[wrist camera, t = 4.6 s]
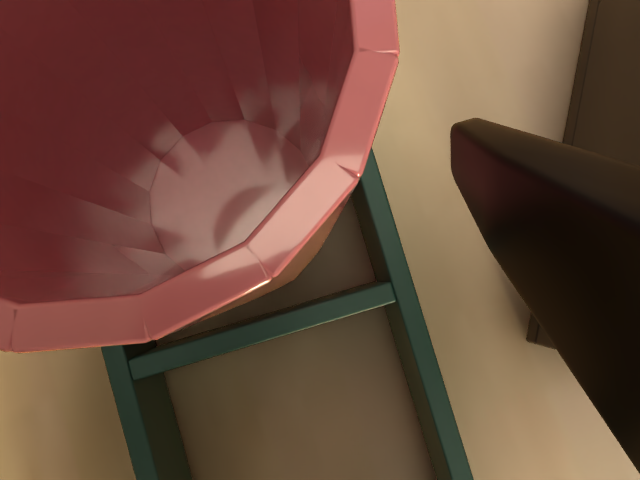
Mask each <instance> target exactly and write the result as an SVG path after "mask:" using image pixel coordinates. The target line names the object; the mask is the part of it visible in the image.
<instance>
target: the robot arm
mask: <svg viewBox="0 0 640 480" xmlns="http://www.w3.org/2000/svg"><path fill="white" fill-rule="evenodd" d="M450 139H451V170H452V174H453V177H454V180H455V182H456V184H457V186H458V188H459V190H460V192H461V194H462V196H463V198H464V200H465V202H466V204H467V206H468V208H469V210H470V212H471V214H472V216H473V218H474V220H475V222H476V224H477V226H478V228H479V230H480V232H481V234H482V236H483V238H484V240H485V242H486V244H487V245H488V247H489V249H490V251H491V252H492V254H493V255H494V257H495V259H496V260H497V262H498V263H499V265H500V266H501V267H502V269H503V270H504V272H505V273H506V275H507V276H508V278H509V279H510V281H511V282H512V284H513V285H514V287H515V288H516V290H517V291H518V293H519V294H520V296H521V297H522V299H523V300H524V302H525V303H526V305H527V306H528V308H529V309H530V311H531V312H532V314H533V315H534V317H535V318H536V320H537V321H538V323H539V324H540V326H541V327H542V329H543V330H544V332H545V333H546V335H547V336H548V338H549V339H550V341H551V342H552V344H553V345H554V347H555V348H556V350H557V351H558V353H559V354H560V356H561V357H562V359H563V360H564V361H565V363H566V364H567V366H568V367H569V369H570V370H571V372H572V373H573V375H574V376H575V378H576V379H577V381H578V382H579V384H580V385H581V387H582V388H583V390H584V391H585V393H586V394H587V396H588V397H589V399H590V400H591V402H592V403H593V405H594V406H595V408H596V409H597V411H598V412H599V414H600V415H601V417H602V418H603V420H604V421H605V423H606V424H607V426H608V427H609V429H610V430H611V432H612V433H613V435H614V436H615V438H616V439H617V441H618V442H619V444H620V445H621V447H622V448H623V450H624V451H625V453H626V454H627V455H628V457H629V458H630V460H631V461H632V463H633V464H634V466H635V467H636V469H637V470H638V472H639V473H640V166H639V165H635V164H632V163H629V162H625V161H622V160H618V159H615V158H612V157H608V156H605V155H601V154H598V153H595V152H591V151H588V150H585V149H581V148H578V147H574V146H571V145H568V144H564V143H561V142H557V141H554V140H551V139H547V138H544V137H540V136H537V135H534V134H530V133H527V132H523V131H520V130H517V129H513V128H510V127H507V126H503V125H500V124H496V123H493V122H490V121H486V120H483V119H479V118H472V119H469V120H465V121H462V122H458V123H455V124H454V125H453V126H452V128H451V133H450Z"/></svg>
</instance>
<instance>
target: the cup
mask: <svg viewBox="0 0 640 480" xmlns="http://www.w3.org/2000/svg"><path fill="white" fill-rule="evenodd" d="M399 53H400V47H399V36H398V25H397V14H396V4H395V0H0V350H1V351H4V352H12V351H13V352H15V353H31V352H43V351H55V350H67V349H79V348H91V347H103V346H115V345H127V344H140V343H147V342H149V341H152V340H158V339H160V338H162V337H165V336H167V335H170V334H172V333H175V332H177V331H179V330H182V329H184V328H187V327H189V326H191V325H194V324H196V323H199V322H201V321H204V320H206V319H208V318H211V317H213V316H216V315H218V314H220V313H223V312H225V311H228V310H230V309H233V308H235V307H237V306H240V305H242V304H245V303H247V302H250V301H252V300H254V299H257V298H259V297H262V296H264V295H266V294H268V293H269V292H271V291H273V290H275V289H277V288H279V287H281V286H283V285H285V284H287V283H289V282H291V281H293V280H294V279H296V278H297V276H298V275H299V274H300V273H301V272H302V271H303V269H304V268H305V267H306V266H307V265H308V264H309V262H310V261H311V260H312V259H313V258H314V257H315V255H316V254H317V253H318V252H319V250H320V249H321V247H322V245H323V243H324V242H325V240H326V238H327V236H328V235H329V233H330V231H331V229H332V228H333V226H334V224H335V222H336V220H337V219H338V217H339V215H340V213H341V212H342V210H343V208H344V206H345V205H346V203H347V201H348V199H349V198H350V196H351V194H352V192H353V190H354V189H355V187H356V185H357V183H358V181H359V180H360V178H361V176H362V174H363V172H364V169H365V166H366V163H367V160H368V156H369V153H370V150H371V147H372V144H373V141H374V138H375V135H376V132H377V128H378V125H379V122H380V119H381V116H382V113H383V110H384V107H385V104H386V101H387V97H388V94H389V91H390V88H391V85H392V82H393V79H394V76H395V73H396V70H397V66H398V63H399V60H398V56H399Z"/></svg>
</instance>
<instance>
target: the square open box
mask: <svg viewBox="0 0 640 480" xmlns="http://www.w3.org/2000/svg"><path fill="white" fill-rule="evenodd" d="M563 143H564V144H568V145H571V146H574V147H578V148H581V149H585V150H588V151H591V152H595V153H598V154H601V155H605V156H608V157H612V158H615V159H618V160H622V161H625V162H629V163H632V164H635V165H639V166H640V0H590V2H589V8H588V13H587V18H586V24H585V29H584V34H583V39H582V45H581V50H580V55H579V61H578V66H577V71H576V77H575V82H574V87H573V93H572V98H571V103H570V109H569V114H568V119H567V125H566V130H565V135H564V141H563ZM526 340H527V341H528V342H530V343H534V344H538V345H541V346H545V347H548V348H552V349H556V348H555V347H554V345H553V344H552V342H551V341H550V339H549V338H548V336H547V335H546V333H545V332H544V330H543V329H542V327H541V326H540V324H539V323H538V321H537V320H536V318H535V317H534V315H533V314H532V312H531V316H530V321H529V327H528V332H527V337H526Z"/></svg>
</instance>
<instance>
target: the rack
mask: <svg viewBox="0 0 640 480" xmlns="http://www.w3.org/2000/svg"><path fill="white" fill-rule="evenodd" d="M351 197H352V200H353V204H354V207H355V210H356V214H357V217H358V220H359V224H360V227H361V230H362V233H363V237H364V240H365V243H366V247H367V250H368V253H369V257H370V260H371V263H372V267H373V270H374V273H375V276H376V280H377V281H374V282H371V283H368V284H364V285H361V286H358V287H354V288H351V289H348V290H344V291H341V292H338V293H334V294H331V295H328V296H324V297H321V298H318V299H314V300H311V301H308V302H304V303H301V304H297V305H294V306H291V307H287V308H284V309H281V310H277V311H274V312H271V313H267V314H264V315H261V316H257V317H254V318H251V319H247V320H244V321H241V322H237V323H234V324H231V325H227V326H224V327H221V328H217V329H214V330H211V331H207V332H204V333H201V334H197V335H194V336H191V337H187V338H184V339H180V340H177V341H174V342H170V343H167V344H164V345H160V346H158V347H156V344H155V340H152V341H149V342H147V343H140V344H127V345H115V346H103V347H101V349H102V353H103V357H104V360H105V364H106V368H107V372H108V375H109V379H110V383H111V387H112V390H113V394H114V398H115V402H116V405H117V409H118V413H119V417H120V420H121V424H122V428H123V432H124V435H125V439H126V443H127V447H128V450H129V454H130V458H131V462H132V465H133V469H134V473H135V477H136V480H193V479H192V476H191V472H190V468H189V465H188V461H187V457H186V454H185V450H184V446H183V443H182V439H181V435H180V432H179V428H178V424H177V421H176V417H175V413H174V410H173V406H172V403H171V399H170V395H169V392H168V388H167V384H166V381H165V377H164V373H163V372H165V371H169V370H172V369H175V368H178V367H182V366H185V365H188V364H192V363H195V362H198V361H202V360H205V359H208V358H212V357H215V356H218V355H222V354H225V353H228V352H231V351H235V350H238V349H241V348H245V347H248V346H251V345H255V344H258V343H261V342H265V341H268V340H271V339H275V338H278V337H281V336H284V335H288V334H291V333H294V332H298V331H301V330H304V329H308V328H311V327H314V326H318V325H321V324H324V323H328V322H331V321H334V320H337V319H341V318H344V317H347V316H351V315H354V314H357V313H361V312H364V311H367V310H371V309H374V308H377V307H381V306H385V310H386V313H387V316H388V320H389V323H390V326H391V329H392V333H393V336H394V339H395V343H396V346H397V349H398V353H399V356H400V359H401V363H402V366H403V369H404V372H405V376H406V379H407V382H408V386H409V389H410V392H411V396H412V399H413V402H414V406H415V409H416V412H417V415H418V419H419V422H420V425H421V429H422V432H423V435H424V439H425V442H426V445H427V449H428V452H429V455H430V458H431V462H432V465H433V468H434V472H435V475H436V478H437V480H474V479H473V476H472V473H471V469H470V466H469V463H468V460H467V456H466V453H465V450H464V446H463V443H462V440H461V437H460V433H459V430H458V427H457V424H456V420H455V417H454V414H453V411H452V407H451V404H450V401H449V398H448V394H447V391H446V388H445V384H444V381H443V378H442V375H441V371H440V368H439V365H438V362H437V358H436V355H435V352H434V349H433V345H432V342H431V339H430V336H429V332H428V329H427V326H426V322H425V319H424V316H423V313H422V309H421V306H420V303H419V300H418V296H417V293H416V290H415V287H414V283H413V280H412V277H411V274H410V270H409V267H408V264H407V260H406V257H405V254H404V251H403V247H402V244H401V241H400V238H399V234H398V231H397V228H396V225H395V221H394V218H393V215H392V212H391V208H390V205H389V202H388V199H387V195H386V192H385V189H384V185H383V182H382V179H381V176H380V172H379V169H378V166H377V163H376V159H375V156H374V153H373V150H372V147H371V150H370V153H369V156H368V160H367V163H366V166H365V169H364V172H363V174H362V176H361V178H360V180H359V181H358V183H357V185H356V187H355V189H354V190H353V192H352V194H351Z"/></svg>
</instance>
